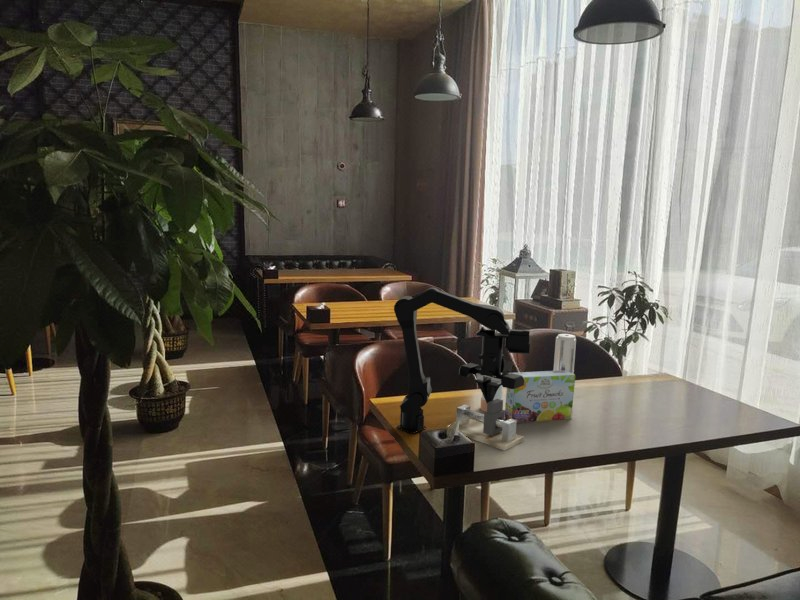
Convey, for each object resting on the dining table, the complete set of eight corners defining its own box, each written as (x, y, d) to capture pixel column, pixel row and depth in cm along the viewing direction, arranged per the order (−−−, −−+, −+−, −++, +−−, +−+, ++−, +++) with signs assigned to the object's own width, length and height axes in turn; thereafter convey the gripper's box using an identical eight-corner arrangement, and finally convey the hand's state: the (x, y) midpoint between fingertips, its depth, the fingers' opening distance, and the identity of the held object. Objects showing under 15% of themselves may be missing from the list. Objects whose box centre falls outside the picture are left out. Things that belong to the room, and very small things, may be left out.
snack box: (512, 424, 173) (515, 377, 171) (503, 418, 178) (506, 372, 176) (572, 419, 179) (576, 373, 177) (562, 413, 184) (566, 368, 182)
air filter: (568, 404, 193) (574, 333, 189) (572, 411, 186) (578, 337, 182) (549, 403, 193) (554, 332, 189) (552, 410, 187) (558, 336, 183)
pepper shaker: (496, 414, 181) (499, 357, 178) (476, 409, 185) (479, 352, 182) (506, 409, 187) (510, 352, 184) (487, 404, 191) (490, 349, 188)
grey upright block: (483, 432, 161) (484, 402, 159) (494, 427, 165) (496, 397, 163) (492, 435, 159) (493, 405, 157) (503, 430, 163) (505, 400, 161)
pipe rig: (456, 424, 168) (456, 407, 168) (464, 421, 171) (464, 404, 170) (507, 442, 156) (508, 424, 155) (515, 438, 159) (516, 420, 158)
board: (447, 429, 167) (447, 425, 167) (467, 421, 174) (467, 417, 174) (504, 450, 154) (505, 446, 153) (523, 440, 161) (524, 436, 161)
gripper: (535, 353, 159) (532, 405, 162) (480, 341, 172) (478, 390, 174) (514, 359, 151) (511, 415, 153) (459, 347, 163) (456, 398, 166)
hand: (489, 404), depth 162 cm, fingers closed
